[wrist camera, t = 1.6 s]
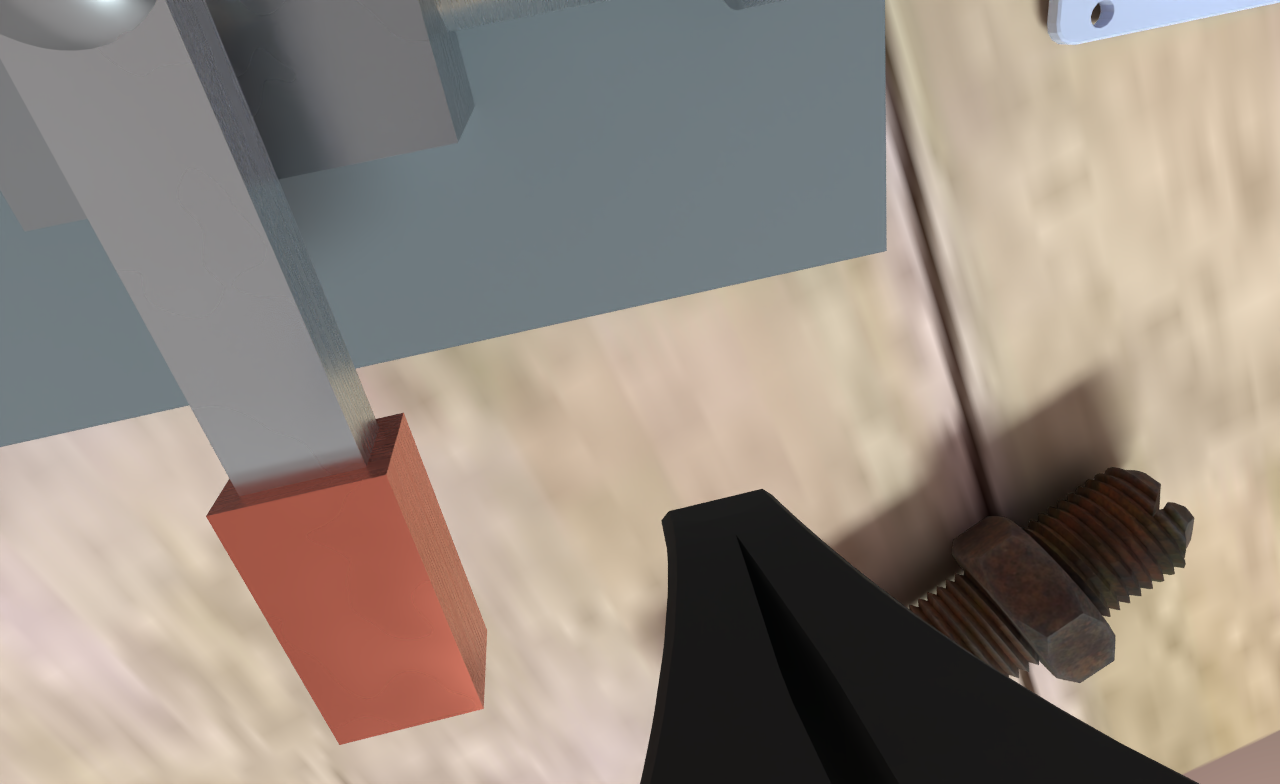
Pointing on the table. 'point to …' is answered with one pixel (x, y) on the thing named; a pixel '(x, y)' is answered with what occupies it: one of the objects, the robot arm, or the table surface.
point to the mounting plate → (524, 198)
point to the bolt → (1059, 576)
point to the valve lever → (255, 357)
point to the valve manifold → (308, 87)
